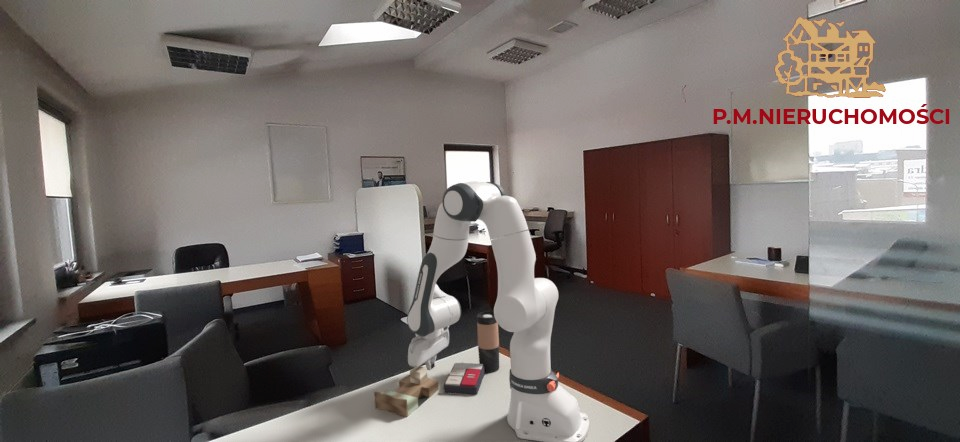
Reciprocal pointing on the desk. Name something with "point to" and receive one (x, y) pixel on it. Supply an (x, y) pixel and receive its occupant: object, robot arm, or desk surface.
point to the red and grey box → (465, 379)
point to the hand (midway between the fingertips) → (430, 368)
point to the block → (418, 375)
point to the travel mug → (488, 341)
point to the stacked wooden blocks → (406, 396)
